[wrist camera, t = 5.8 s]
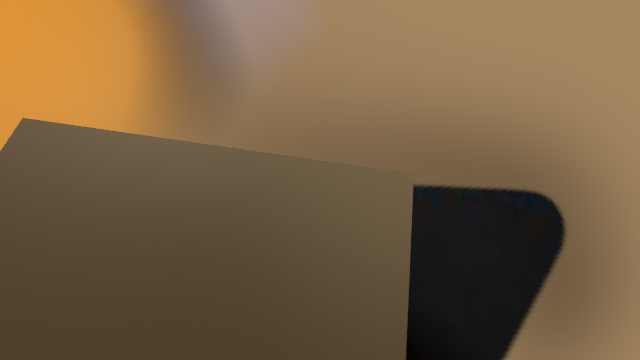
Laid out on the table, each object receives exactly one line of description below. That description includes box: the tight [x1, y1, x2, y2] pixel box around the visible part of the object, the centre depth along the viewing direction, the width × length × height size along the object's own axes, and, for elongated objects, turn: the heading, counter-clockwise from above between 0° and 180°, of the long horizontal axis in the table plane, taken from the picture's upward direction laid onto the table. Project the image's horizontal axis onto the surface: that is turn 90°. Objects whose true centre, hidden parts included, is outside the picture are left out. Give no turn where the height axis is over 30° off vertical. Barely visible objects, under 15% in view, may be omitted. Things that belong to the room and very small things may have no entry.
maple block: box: [0, 118, 414, 360], centre depth 8 cm, size 5×5×13 cm
